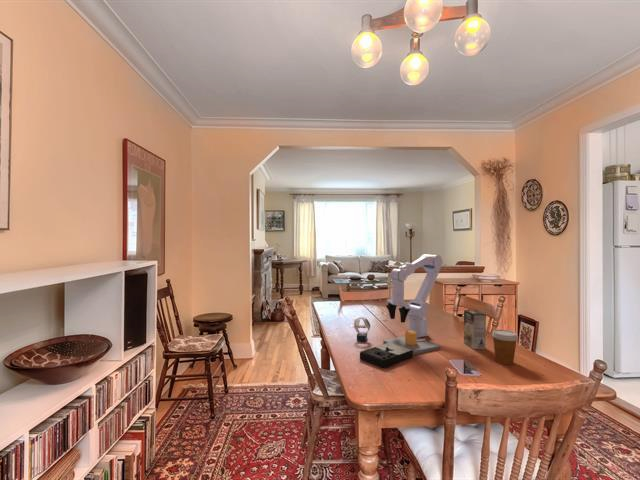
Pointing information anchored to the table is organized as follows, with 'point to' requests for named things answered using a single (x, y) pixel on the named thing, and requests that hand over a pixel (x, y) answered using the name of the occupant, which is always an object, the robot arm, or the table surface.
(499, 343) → the disposable coffee cup
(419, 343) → the board
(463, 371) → the mobile phone
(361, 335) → the watch
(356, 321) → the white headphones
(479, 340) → the coffee box
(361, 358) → the multimeter
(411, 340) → the orange cap
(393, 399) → the table surface
